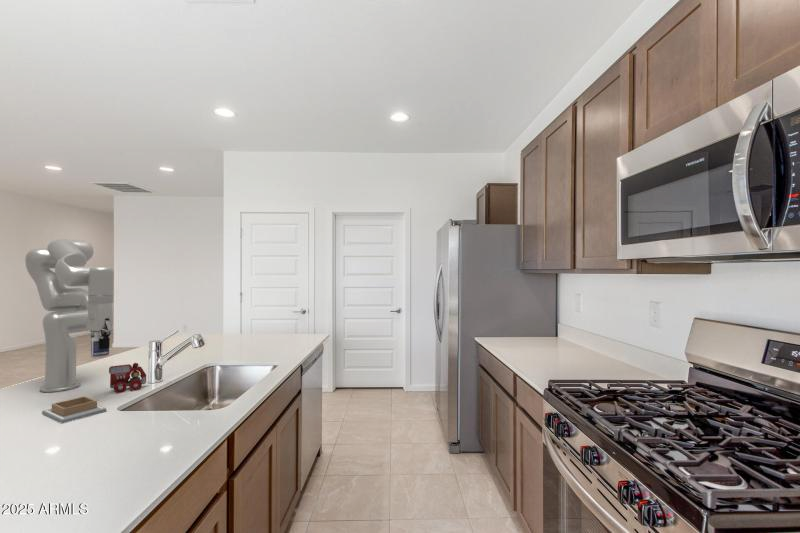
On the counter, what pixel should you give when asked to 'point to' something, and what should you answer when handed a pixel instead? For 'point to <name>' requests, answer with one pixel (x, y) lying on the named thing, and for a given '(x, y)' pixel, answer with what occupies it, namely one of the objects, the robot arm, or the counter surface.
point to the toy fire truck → (126, 377)
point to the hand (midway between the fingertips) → (100, 347)
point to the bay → (73, 409)
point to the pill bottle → (97, 347)
